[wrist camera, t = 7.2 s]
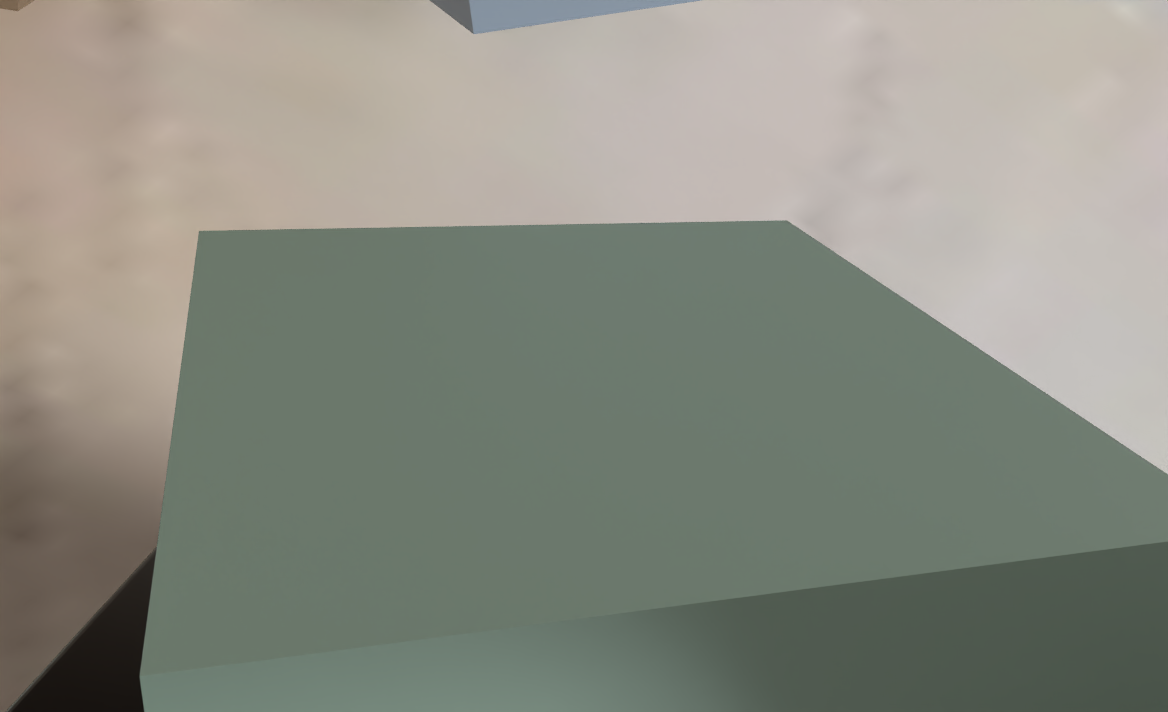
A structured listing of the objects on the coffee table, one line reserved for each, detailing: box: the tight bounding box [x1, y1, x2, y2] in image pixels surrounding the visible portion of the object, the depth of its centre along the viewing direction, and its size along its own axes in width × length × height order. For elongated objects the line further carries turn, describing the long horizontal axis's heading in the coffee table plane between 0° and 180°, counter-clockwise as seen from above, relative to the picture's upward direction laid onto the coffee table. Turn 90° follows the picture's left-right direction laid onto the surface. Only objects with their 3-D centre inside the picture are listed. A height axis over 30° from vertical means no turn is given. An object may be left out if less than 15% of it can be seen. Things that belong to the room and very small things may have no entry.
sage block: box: [140, 221, 1168, 712], centre depth 7 cm, size 5×5×5 cm
